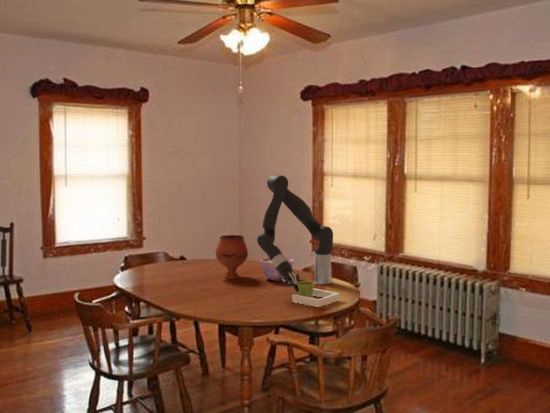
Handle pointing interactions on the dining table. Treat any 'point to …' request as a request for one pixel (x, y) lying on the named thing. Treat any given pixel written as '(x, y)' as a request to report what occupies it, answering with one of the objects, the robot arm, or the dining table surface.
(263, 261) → the bowl of food
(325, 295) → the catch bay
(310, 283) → the plant pot
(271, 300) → the dining table surface
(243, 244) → the goblet
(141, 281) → the dining table surface
